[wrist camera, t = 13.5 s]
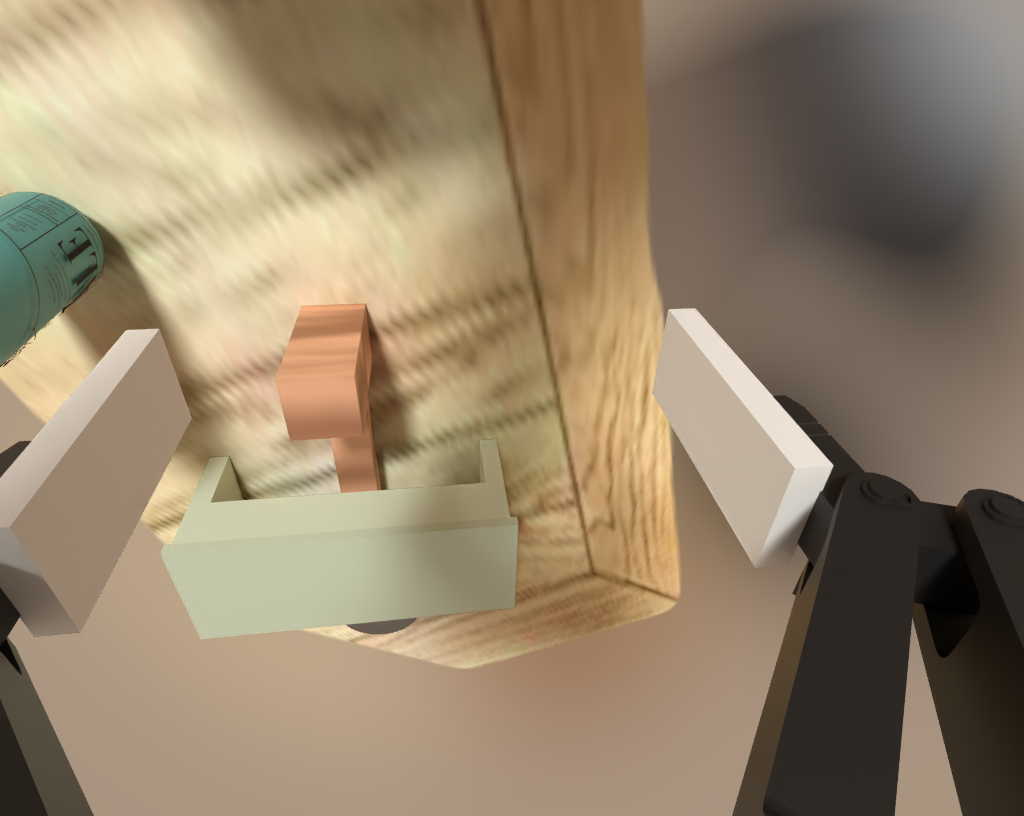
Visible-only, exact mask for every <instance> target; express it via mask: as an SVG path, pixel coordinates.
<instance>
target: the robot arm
mask: <svg viewBox="0 0 1024 816" xmlns="http://www.w3.org/2000/svg"><path fill="white" fill-rule="evenodd" d="M652 393H653V395H654V397H655V398H656V400H657V402H658V403H659V405H660V407H661V409H662V410H663V412H664V414H665V415H666V417H667V419H668V420H669V422H670V424H671V426H672V427H673V429H674V431H675V432H676V434H677V436H678V437H679V439H680V441H681V442H682V444H683V446H684V448H685V449H686V451H687V453H688V454H689V456H690V458H691V460H692V461H693V463H694V465H695V466H696V468H697V470H698V471H699V473H700V475H701V476H702V478H703V480H704V482H705V483H706V485H707V487H708V488H709V490H710V492H711V493H712V495H713V497H714V499H715V500H716V502H717V504H718V505H719V507H720V509H721V510H722V512H723V514H724V516H725V517H726V519H727V520H728V522H729V524H730V526H731V527H732V529H733V531H734V533H735V534H736V536H737V538H738V539H739V541H740V543H741V544H742V546H743V548H744V549H745V551H746V553H747V554H748V556H749V558H750V560H751V561H752V563H753V565H754V566H755V568H758V567H768V566H779V565H789V564H790V562H791V559H792V557H793V555H794V553H795V550H796V548H797V546H798V545H799V546H800V547H801V549H802V550H803V552H804V553H805V555H806V556H807V558H808V561H807V564H806V566H805V568H804V570H803V572H802V574H801V576H800V578H799V580H798V583H797V585H796V587H795V589H794V591H793V594H794V595H796V597H795V601H794V604H793V608H792V611H791V615H790V618H789V622H788V625H787V628H786V632H785V635H784V639H783V642H782V646H781V649H780V653H779V656H778V659H777V663H776V666H775V670H774V673H773V677H772V680H771V684H770V687H769V690H768V694H767V697H766V701H765V705H764V708H763V711H762V715H761V718H760V722H759V725H758V729H757V732H756V735H755V739H754V743H753V746H752V749H751V753H750V756H749V760H748V763H747V766H746V770H745V773H744V777H743V780H742V784H741V787H740V791H739V794H738V797H737V801H736V804H735V808H734V811H733V815H732V816H895V805H896V794H897V782H898V770H899V760H900V749H901V738H902V737H901V736H902V726H903V715H904V703H905V693H906V681H907V670H908V659H909V648H910V647H909V646H910V636H911V625H912V618H913V621H914V625H915V629H916V633H917V637H918V641H919V645H920V649H921V653H922V657H923V661H924V665H925V669H926V673H927V677H928V681H929V684H930V688H931V692H932V696H933V700H934V704H935V708H936V712H937V716H938V720H939V724H940V728H941V731H942V736H943V740H944V744H945V748H946V752H947V755H948V759H949V763H950V767H951V771H952V775H953V779H954V783H955V787H956V791H957V795H958V798H959V802H960V806H961V811H962V815H963V816H1024V502H1023V501H1021V500H1019V499H1018V498H1017V499H1016V498H1015V497H1013V496H1011V495H1008V494H1004V493H1001V492H998V491H994V490H987V489H975V490H970V491H968V492H967V493H966V494H965V495H964V496H963V498H962V500H961V501H960V502H959V504H958V505H957V507H955V506H949V505H942V504H936V503H930V502H923V501H920V500H919V499H918V497H917V496H916V495H915V494H914V493H913V491H912V490H910V489H909V488H907V487H906V486H905V485H903V484H902V483H900V482H898V481H896V480H894V479H892V478H889V477H887V476H884V475H880V474H876V473H866V472H864V470H862V468H861V467H860V466H859V465H858V464H857V463H856V462H855V461H854V460H853V459H852V458H851V457H850V455H849V454H848V453H847V452H846V451H845V450H844V449H843V448H842V447H841V446H840V445H839V444H838V443H837V442H836V440H835V439H834V438H833V437H832V436H831V435H829V436H828V432H827V431H826V430H825V429H824V428H823V427H822V426H821V424H818V423H817V420H816V419H815V418H814V417H813V416H812V415H811V414H810V413H809V412H808V411H807V410H806V408H805V407H803V406H801V405H800V404H798V403H797V402H795V401H793V400H792V399H790V398H788V397H787V396H784V395H783V396H772V395H771V394H770V393H769V392H768V391H767V389H766V388H765V387H764V386H763V385H762V384H761V383H760V381H759V380H758V379H757V378H756V377H755V376H754V375H753V374H752V373H751V371H750V370H749V369H748V368H747V367H746V366H745V364H744V363H742V361H741V360H740V359H739V358H738V357H737V355H736V354H735V353H734V352H733V351H732V350H731V349H730V347H729V346H728V345H727V344H726V343H725V342H724V341H723V339H722V338H721V337H720V336H719V335H718V334H717V333H716V332H715V331H714V329H713V328H712V327H711V326H710V325H709V324H708V323H707V321H706V320H705V319H704V318H703V317H702V316H701V314H700V313H699V312H698V311H697V310H696V309H695V308H694V309H669V310H668V316H667V320H666V325H665V330H664V335H663V341H662V346H661V351H660V356H659V361H658V366H657V371H656V376H655V382H654V387H653V392H652ZM191 420H192V417H191V415H190V412H189V409H188V406H187V403H186V401H185V398H184V395H183V392H182V390H181V387H180V384H179V381H178V379H177V376H176V373H175V370H174V367H173V365H172V362H171V359H170V356H169V354H168V351H167V348H166V345H165V342H164V340H163V337H162V334H161V331H160V329H139V330H126V331H125V332H124V333H123V334H122V336H121V337H120V338H119V339H118V340H117V342H116V343H115V344H114V345H113V346H112V347H111V349H110V350H109V351H108V352H107V353H106V354H105V356H104V357H103V358H102V359H101V360H100V362H99V363H98V364H97V365H96V366H95V367H94V369H93V370H92V371H91V372H90V373H89V374H88V376H87V377H86V378H85V379H84V380H83V381H82V383H81V384H80V385H79V386H78V387H77V389H76V390H75V391H74V392H73V393H72V394H71V396H70V397H69V398H68V399H67V400H66V401H65V403H64V404H63V405H62V406H61V407H60V408H59V410H58V411H57V412H56V413H55V414H54V416H53V417H52V418H51V419H50V420H49V421H48V423H47V424H46V425H45V426H44V427H43V429H42V430H41V431H40V432H39V433H38V434H37V435H36V437H35V438H34V439H33V440H32V441H20V442H18V443H16V444H14V445H13V446H12V447H10V448H8V449H7V450H5V451H4V452H3V453H1V454H0V816H94V815H93V813H92V811H91V809H90V806H89V804H88V802H87V800H86V798H85V796H84V793H83V791H82V789H81V787H80V785H79V783H78V781H77V778H76V776H75V774H74V772H73V770H72V768H71V766H70V763H69V761H68V759H67V757H66V755H65V753H64V750H63V748H62V746H61V744H60V742H59V740H58V737H57V735H56V733H55V731H54V729H53V727H52V725H51V723H50V720H49V718H48V716H47V714H46V712H45V710H44V707H43V705H42V703H41V701H40V699H39V697H38V695H37V692H36V690H35V688H34V686H33V684H32V682H31V679H30V677H29V675H28V673H27V671H26V669H25V666H24V664H23V662H22V660H21V658H20V656H19V653H18V651H17V649H16V647H15V646H14V645H13V643H12V642H11V641H10V640H9V638H8V637H7V636H8V635H9V633H10V632H11V630H12V628H13V627H14V625H15V624H16V622H17V620H18V619H19V617H20V618H21V620H22V621H23V622H24V624H25V625H26V626H27V628H28V629H29V630H30V632H31V633H32V634H33V636H34V637H40V636H51V635H61V634H72V633H80V632H81V630H82V628H83V626H84V625H85V623H86V621H87V619H88V617H89V615H90V613H91V611H92V609H93V607H94V605H95V604H96V602H97V600H98V598H99V595H100V594H101V592H102V590H103V588H104V586H105V584H106V582H107V581H108V578H109V577H110V575H111V573H112V571H113V569H114V567H115V565H116V563H117V561H118V559H119V557H120V556H121V554H122V552H123V549H124V548H125V546H126V544H127V542H128V540H129V538H130V536H131V535H132V533H133V531H134V528H135V527H136V525H137V523H138V521H139V519H140V517H141V515H142V513H143V512H144V510H145V508H146V506H147V504H148V502H149V500H150V498H151V496H152V494H153V492H154V490H155V489H156V487H157V485H158V483H159V481H160V479H161V477H162V475H163V473H164V471H165V469H166V467H167V466H168V464H169V462H170V460H171V458H172V456H173V454H174V452H175V450H176V448H177V446H178V444H179V443H180V441H181V439H182V437H183V435H184V433H185V431H186V429H187V427H188V425H189V423H190V421H191Z"/></svg>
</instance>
